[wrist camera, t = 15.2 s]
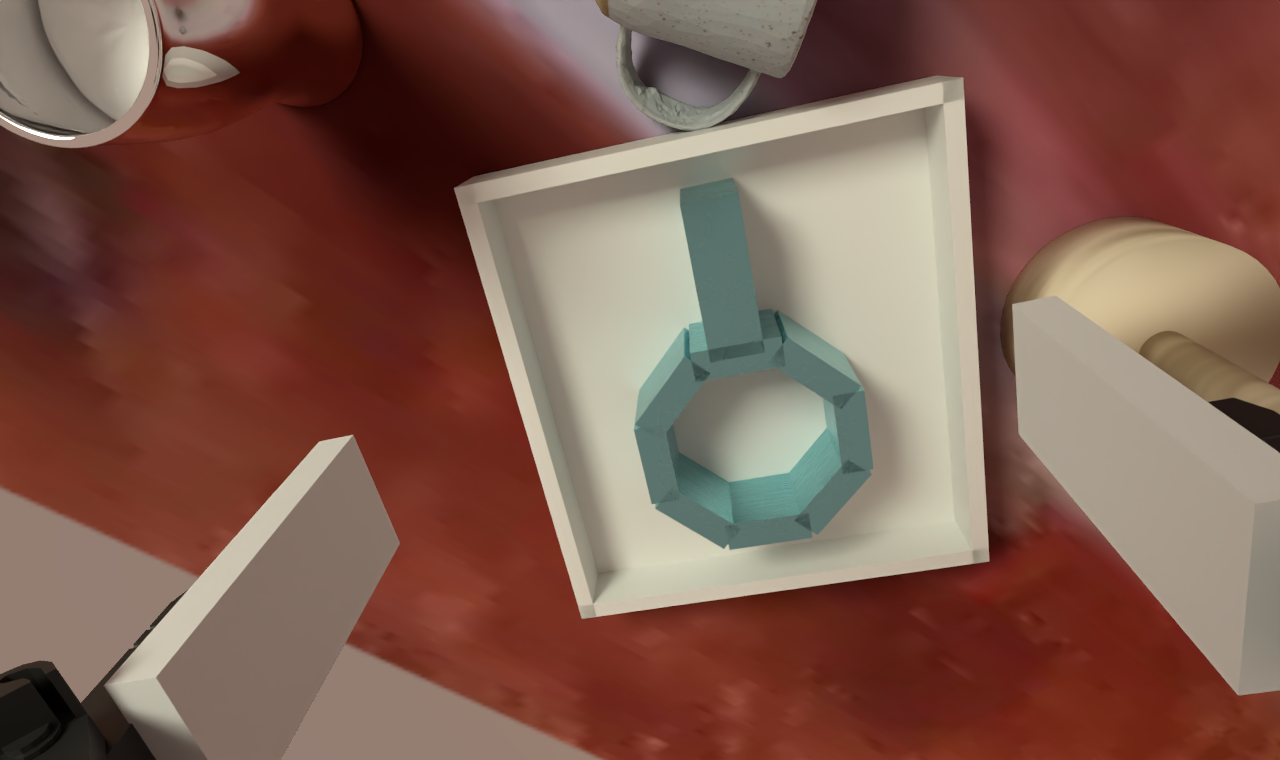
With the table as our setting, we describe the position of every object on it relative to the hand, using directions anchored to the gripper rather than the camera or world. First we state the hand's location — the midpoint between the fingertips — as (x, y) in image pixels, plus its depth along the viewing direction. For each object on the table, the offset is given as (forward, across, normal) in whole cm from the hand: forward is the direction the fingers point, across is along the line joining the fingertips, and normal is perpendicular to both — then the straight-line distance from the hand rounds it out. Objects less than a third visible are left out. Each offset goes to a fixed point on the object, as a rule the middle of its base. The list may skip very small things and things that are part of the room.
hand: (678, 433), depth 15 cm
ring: (+22, +1, -8) cm, 23 cm away
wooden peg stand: (+23, +19, -10) cm, 31 cm away
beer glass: (+23, -15, +11) cm, 30 cm away
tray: (+23, +1, -8) cm, 24 cm away
